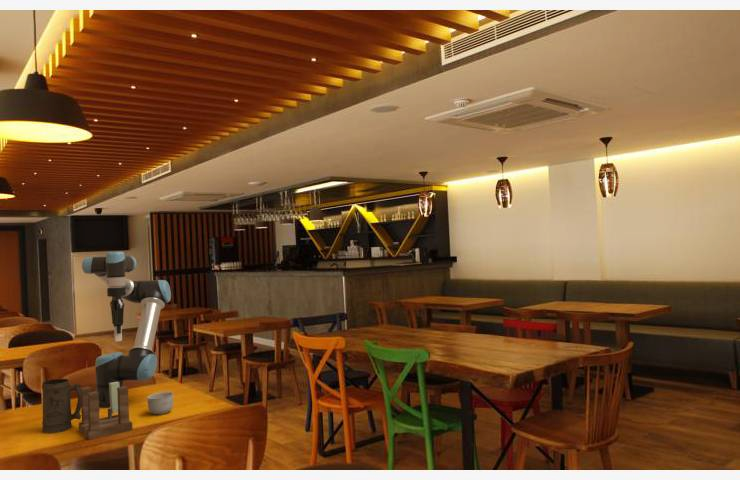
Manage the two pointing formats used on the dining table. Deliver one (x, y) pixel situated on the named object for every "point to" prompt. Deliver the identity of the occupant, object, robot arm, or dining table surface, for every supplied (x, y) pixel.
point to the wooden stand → (106, 425)
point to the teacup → (160, 402)
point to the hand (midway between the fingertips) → (118, 340)
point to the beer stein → (59, 405)
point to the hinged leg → (113, 396)
